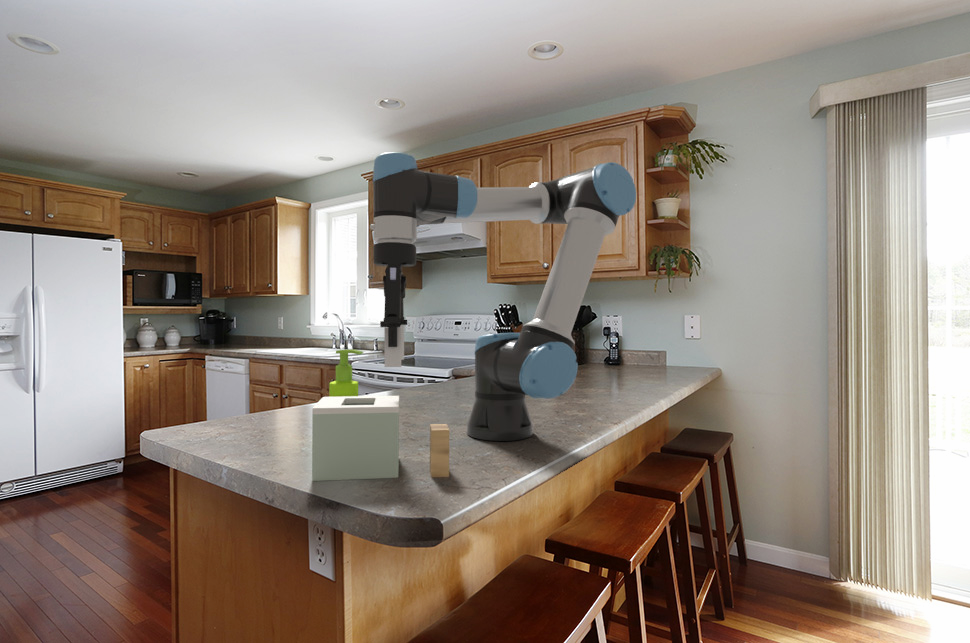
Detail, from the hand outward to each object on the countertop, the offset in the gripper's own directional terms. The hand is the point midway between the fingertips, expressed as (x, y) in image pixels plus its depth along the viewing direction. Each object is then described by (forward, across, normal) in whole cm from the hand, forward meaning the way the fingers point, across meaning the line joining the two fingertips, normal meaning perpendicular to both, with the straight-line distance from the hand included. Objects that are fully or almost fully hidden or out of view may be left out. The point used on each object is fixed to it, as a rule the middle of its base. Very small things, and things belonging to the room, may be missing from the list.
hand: (395, 363), depth 94 cm
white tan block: (+19, +3, +8) cm, 21 cm away
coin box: (+19, 0, -6) cm, 20 cm away
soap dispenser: (+19, -18, -11) cm, 28 cm away
